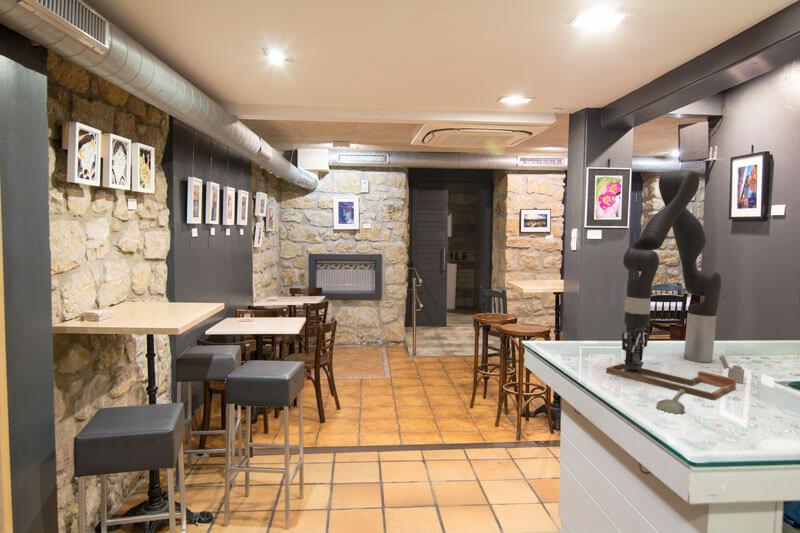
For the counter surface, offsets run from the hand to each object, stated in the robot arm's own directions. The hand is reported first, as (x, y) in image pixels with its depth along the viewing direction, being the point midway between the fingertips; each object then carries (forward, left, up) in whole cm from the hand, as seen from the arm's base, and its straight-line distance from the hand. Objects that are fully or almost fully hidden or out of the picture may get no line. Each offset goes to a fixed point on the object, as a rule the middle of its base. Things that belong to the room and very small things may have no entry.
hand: (633, 361), depth 166 cm
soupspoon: (+17, +20, -5) cm, 27 cm away
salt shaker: (0, 0, -4) cm, 4 cm away
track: (-4, +10, -4) cm, 11 cm away
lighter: (-21, +22, -5) cm, 30 cm away
